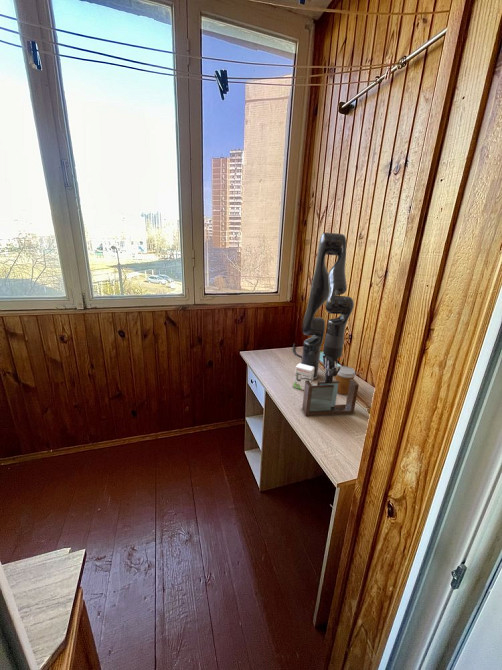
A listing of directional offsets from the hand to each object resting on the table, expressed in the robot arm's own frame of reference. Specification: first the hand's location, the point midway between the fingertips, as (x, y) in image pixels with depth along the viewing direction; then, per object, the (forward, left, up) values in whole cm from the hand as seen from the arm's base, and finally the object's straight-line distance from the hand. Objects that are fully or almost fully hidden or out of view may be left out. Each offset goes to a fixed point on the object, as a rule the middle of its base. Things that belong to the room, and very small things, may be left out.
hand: (328, 381), depth 126 cm
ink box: (-20, -4, -15) cm, 25 cm away
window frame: (+1, +1, -14) cm, 15 cm away
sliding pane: (0, 0, -13) cm, 13 cm away
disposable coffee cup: (-15, +15, -15) cm, 26 cm away
